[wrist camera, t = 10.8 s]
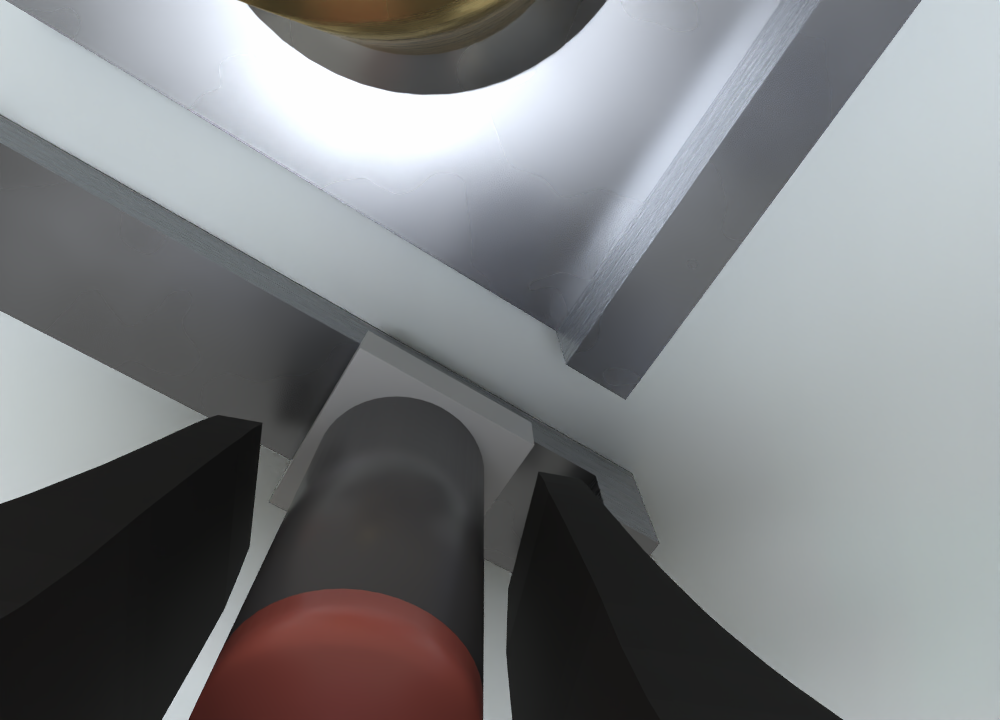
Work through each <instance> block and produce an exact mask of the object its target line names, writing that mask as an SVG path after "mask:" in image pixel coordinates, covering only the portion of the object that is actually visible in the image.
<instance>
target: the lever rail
mask: <svg viewBox="0 0 1000 720" xmlns="http://www.w3.org/2000/svg"><path fill="white" fill-rule="evenodd" d="M0 311H2V312H4V313H6V314H8V315H10V316H12V317H14V318H16V319H18V320H20V321H21V322H23V323H25V324H27V325H29V326H31V327H33V328H35V329H37V330H39V331H41V332H43V333H45V334H47V335H49V336H51V337H53V338H55V339H57V340H59V341H61V342H62V343H64V344H66V345H68V346H70V347H72V348H74V349H76V350H78V351H80V352H82V353H84V354H86V355H88V356H90V357H92V358H94V359H96V360H98V361H100V362H102V363H103V364H105V365H107V366H109V367H111V368H113V369H115V370H117V371H119V372H121V373H123V374H125V375H127V376H129V377H131V378H133V379H135V380H137V381H139V382H141V383H143V384H144V385H146V386H148V387H150V388H152V389H154V390H156V391H158V392H160V393H162V394H164V395H166V396H168V397H170V398H172V399H174V400H176V401H178V402H180V403H182V404H184V405H185V406H187V407H189V408H191V409H193V410H195V411H197V412H199V413H201V414H203V415H205V416H207V417H209V418H210V417H213V416H216V415H222V416H228V417H234V418H239V419H245V420H251V421H256V422H262V433H261V442H260V444H262V445H264V446H265V447H267V448H269V449H271V450H273V451H275V452H277V453H279V454H281V455H283V456H285V457H287V458H289V459H291V460H292V459H293V457H294V456H295V454H296V452H297V451H298V449H299V447H300V445H301V444H302V442H303V440H304V439H305V437H306V435H307V434H308V432H309V430H310V428H311V427H312V425H313V423H314V422H315V420H316V418H317V417H318V415H319V413H320V412H321V410H322V408H323V406H324V405H325V403H326V401H327V400H328V398H329V396H330V395H331V393H332V391H333V389H334V388H335V386H336V384H337V383H338V381H339V379H340V378H341V376H342V374H343V373H344V371H345V369H346V367H347V366H348V364H349V362H350V361H351V359H352V357H353V356H354V354H355V352H356V350H357V349H358V347H359V345H360V344H361V342H362V340H363V339H364V337H365V335H366V333H367V332H368V331H370V332H372V333H374V334H376V335H377V336H379V337H381V338H383V339H384V340H386V341H388V342H390V343H391V344H393V345H395V346H397V347H399V348H400V349H402V350H404V351H406V352H407V353H409V354H411V355H413V356H414V357H416V358H418V359H420V360H422V361H423V362H425V363H427V364H429V365H430V366H432V367H434V368H436V369H437V370H439V371H441V372H443V373H445V374H446V375H448V376H450V377H452V378H453V379H455V380H457V381H459V382H460V383H462V384H464V385H466V386H468V387H469V388H471V389H473V390H475V391H476V392H478V393H480V394H482V395H483V396H485V397H487V398H489V399H491V400H492V401H494V402H496V403H498V404H499V405H501V406H503V407H505V408H506V409H508V410H510V411H512V412H514V413H515V414H517V415H519V416H521V417H522V418H524V419H526V420H528V421H529V422H531V424H532V431H533V438H534V446H533V448H532V449H531V451H530V452H529V453H528V455H527V456H526V458H525V459H524V460H523V462H522V463H521V465H520V466H519V467H518V469H517V470H516V472H515V473H514V475H513V476H512V477H511V479H510V480H509V482H508V483H507V484H506V486H505V487H504V489H503V490H502V491H501V493H500V494H499V496H498V497H497V498H496V500H495V501H494V503H493V504H492V505H491V507H490V508H489V510H488V511H487V512H486V514H485V515H484V559H486V560H488V561H490V562H492V563H494V564H496V565H498V566H500V567H502V568H504V569H506V570H508V571H510V572H511V573H513V569H514V565H515V561H516V557H517V553H518V549H519V545H520V541H521V538H522V534H523V530H524V526H525V522H526V518H527V514H528V510H529V506H530V503H531V499H532V495H533V491H534V487H535V483H536V479H537V475H538V471H539V472H545V473H550V474H556V475H562V476H567V477H573V478H578V479H581V480H582V481H583V482H584V483H585V484H586V485H587V486H588V487H589V488H590V489H591V490H592V492H593V493H594V494H595V495H596V496H597V497H598V498H599V500H600V501H601V502H602V503H603V504H604V505H605V507H606V508H607V509H608V510H609V511H610V512H611V513H612V515H613V516H614V517H615V518H616V519H617V520H618V522H619V523H620V524H621V525H622V526H623V527H624V528H625V530H626V531H627V532H628V533H629V534H630V535H631V536H632V538H633V539H634V540H635V541H636V542H637V543H638V544H639V545H640V546H641V548H642V549H643V550H644V551H645V552H646V553H647V554H648V555H650V554H651V553H652V552H653V550H654V549H655V548H656V547H657V546H658V544H659V541H658V539H657V536H656V534H655V531H654V528H653V526H652V523H651V521H650V518H649V515H648V513H647V510H646V508H645V505H644V502H643V500H642V497H641V495H640V492H639V489H638V487H637V484H636V482H635V479H634V476H633V474H632V473H630V472H629V471H627V470H625V469H623V468H622V467H620V466H618V465H616V464H615V463H613V462H611V461H609V460H607V459H606V458H604V457H602V456H600V455H599V454H597V453H595V452H593V451H592V450H590V449H588V448H586V447H585V446H583V445H581V444H579V443H577V442H576V441H574V440H572V439H570V438H569V437H567V436H565V435H563V434H562V433H560V432H558V431H556V430H555V429H553V428H551V427H549V426H547V425H546V424H544V423H542V422H540V421H539V420H537V419H535V418H533V417H532V416H530V415H528V414H526V413H525V412H523V411H521V410H519V409H518V408H516V407H514V406H512V405H510V404H509V403H507V402H505V401H503V400H502V399H500V398H498V397H496V396H495V395H493V394H491V393H489V392H488V391H486V390H484V389H482V388H480V387H479V386H477V385H475V384H473V383H472V382H470V381H468V380H466V379H465V378H463V377H461V376H459V375H458V374H456V373H454V372H452V371H451V370H449V369H447V368H445V367H443V366H442V365H440V364H438V363H436V362H435V361H433V360H431V359H429V358H428V357H426V356H424V355H422V354H421V353H419V352H417V351H415V350H413V349H412V348H410V347H408V346H406V345H405V344H403V343H401V342H399V341H398V340H396V339H394V338H392V337H391V336H389V335H387V334H385V333H384V332H382V331H380V330H378V329H376V328H375V327H373V326H371V325H369V324H368V323H366V322H364V321H362V320H361V319H359V318H357V317H355V316H354V315H352V314H350V313H348V312H346V311H345V310H343V309H341V308H339V307H338V306H336V305H334V304H332V303H331V302H329V301H327V300H325V299H324V298H322V297H320V296H318V295H317V294H315V293H313V292H311V291H309V290H308V289H306V288H304V287H302V286H301V285H299V284H297V283H295V282H294V281H292V280H290V279H288V278H287V277H285V276H283V275H281V274H279V273H278V272H276V271H274V270H272V269H271V268H269V267H267V266H265V265H264V264H262V263H260V262H258V261H257V260H255V259H253V258H251V257H250V256H248V255H246V254H244V253H242V252H241V251H239V250H237V249H235V248H234V247H232V246H230V245H228V244H227V243H225V242H223V241H221V240H220V239H218V238H216V237H214V236H212V235H211V234H209V233H207V232H205V231H204V230H202V229H200V228H198V227H197V226H195V225H193V224H191V223H190V222H188V221H186V220H184V219H183V218H181V217H179V216H177V215H175V214H174V213H172V212H170V211H168V210H167V209H165V208H163V207H161V206H160V205H158V204H156V203H154V202H153V201H151V200H149V199H147V198H145V197H144V196H142V195H140V194H138V193H137V192H135V191H133V190H131V189H130V188H128V187H126V186H124V185H123V184H121V183H119V182H117V181H116V180H114V179H112V178H110V177H108V176H107V175H105V174H103V173H101V172H100V171H98V170H96V169H94V168H93V167H91V166H89V165H87V164H86V163H84V162H82V161H80V160H78V159H77V158H75V157H73V156H71V155H70V154H68V153H66V152H64V151H63V150H61V149H59V148H57V147H56V146H54V145H52V144H50V143H49V142H47V141H45V140H43V139H41V138H40V137H38V136H36V135H34V134H33V133H31V132H29V131H27V130H26V129H24V128H22V127H20V126H19V125H17V124H15V123H13V122H11V121H10V120H8V119H6V118H4V117H3V116H1V115H0Z"/></svg>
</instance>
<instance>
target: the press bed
mask: <svg viewBox="0 0 1000 720" xmlns="http://www.w3.org/2000/svg"><path fill="white" fill-rule="evenodd" d="M6 1H8V2H9V3H11V4H13V5H14V6H16V7H18V8H19V9H21V10H23V11H24V12H26V13H28V14H29V15H31V16H33V17H34V18H36V19H38V20H39V21H41V22H43V23H44V24H46V25H48V26H49V27H51V28H53V29H54V30H56V31H58V32H59V33H61V34H63V35H64V36H66V37H68V38H69V39H71V40H73V41H74V42H76V43H78V44H79V45H81V46H83V47H84V48H86V49H88V50H89V51H91V52H93V53H94V54H96V55H98V56H99V57H101V58H103V59H104V60H106V61H108V62H109V63H111V64H113V65H114V66H116V67H118V68H119V69H121V70H123V71H124V72H126V73H128V74H129V75H131V76H133V77H134V78H136V79H138V80H139V81H141V82H143V83H144V84H146V85H148V86H149V87H151V88H153V89H154V90H156V91H158V92H159V93H161V94H163V95H164V96H166V97H168V98H169V99H171V100H173V101H174V102H176V103H178V104H179V105H181V106H183V107H184V108H186V109H188V110H189V111H191V112H193V113H194V114H196V115H198V116H199V117H201V118H203V119H204V120H206V121H208V122H209V123H211V124H213V125H214V126H216V127H218V128H219V129H221V130H223V131H224V132H226V133H228V134H229V135H231V136H233V137H234V138H236V139H238V140H239V141H241V142H243V143H244V144H246V145H248V146H249V147H251V148H253V149H254V150H256V151H258V152H259V153H261V154H263V155H264V156H266V157H268V158H269V159H271V160H273V161H274V162H276V163H278V164H279V165H281V166H283V167H284V168H286V169H288V170H289V171H291V172H293V173H294V174H296V175H298V176H299V177H301V178H303V179H304V180H306V181H308V182H309V183H311V184H313V185H314V186H316V187H318V188H319V189H321V190H323V191H324V192H326V193H328V194H329V195H331V196H333V197H334V198H336V199H338V200H339V201H341V202H343V203H344V204H346V205H348V206H349V207H351V208H353V209H354V210H356V211H358V212H359V213H361V214H363V215H364V216H366V217H368V218H369V219H371V220H373V221H374V222H376V223H378V224H379V225H381V226H383V227H384V228H386V229H388V230H389V231H391V232H393V233H394V234H396V235H398V236H399V237H401V238H403V239H404V240H406V241H408V242H409V243H411V244H413V245H414V246H416V247H418V248H419V249H421V250H423V251H424V252H426V253H428V254H429V255H431V256H433V257H434V258H436V259H438V260H439V261H441V262H443V263H444V264H446V265H448V266H449V267H451V268H453V269H454V270H456V271H458V272H459V273H461V274H463V275H464V276H466V277H468V278H469V279H471V280H473V281H474V282H476V283H478V284H479V285H481V286H483V287H484V288H486V289H488V290H489V291H491V292H493V293H494V294H496V295H498V296H499V297H501V298H503V299H504V300H506V301H508V302H509V303H511V304H513V305H514V306H516V307H518V308H519V309H521V310H523V311H524V312H526V313H528V314H529V315H531V316H533V317H534V318H536V319H538V320H539V321H541V322H543V323H544V324H546V325H548V326H549V327H551V328H553V329H554V330H556V332H557V335H558V338H559V342H560V345H561V348H562V352H563V355H564V359H565V362H566V365H568V366H570V367H571V368H573V369H575V370H576V371H578V372H580V373H581V374H583V375H585V376H586V377H588V378H590V379H592V380H593V381H595V382H597V383H598V384H600V385H602V386H603V387H605V388H607V389H608V390H610V391H612V392H614V393H615V394H617V395H619V396H620V397H622V398H624V399H625V400H626V398H627V397H628V396H629V394H630V393H631V392H632V390H633V389H634V388H635V386H636V385H637V384H638V382H639V381H640V379H641V378H642V377H643V375H644V374H645V373H646V371H647V370H648V369H649V367H650V366H651V365H652V363H653V362H654V361H655V359H656V358H657V357H658V355H659V354H660V352H661V351H662V350H663V348H664V347H665V346H666V344H667V343H668V342H669V340H670V339H671V338H672V336H673V335H674V334H675V332H676V331H677V330H678V328H679V327H680V325H681V324H682V323H683V321H684V320H685V319H686V317H687V316H688V315H689V313H690V312H691V311H692V309H693V308H694V307H695V305H696V304H697V303H698V301H699V300H700V298H701V297H702V296H703V294H704V293H705V292H706V290H707V289H708V288H709V286H710V285H711V284H712V282H713V281H714V280H715V278H716V277H717V276H718V274H719V273H720V271H721V270H722V269H723V267H724V266H725V265H726V263H727V262H728V261H729V259H730V258H731V257H732V255H733V254H734V253H735V251H736V250H737V249H738V247H739V246H740V244H741V243H742V242H743V240H744V239H745V238H746V236H747V235H748V234H749V232H750V231H751V230H752V228H753V227H754V226H755V224H756V223H757V222H758V220H759V219H760V217H761V216H762V215H763V213H764V212H765V211H766V209H767V208H768V207H769V205H770V204H771V203H772V201H773V200H774V199H775V197H776V196H777V195H778V193H779V192H780V190H781V189H782V188H783V186H784V185H785V184H786V182H787V181H788V180H789V178H790V177H791V176H792V174H793V173H794V172H795V170H796V169H797V168H798V166H799V165H800V163H801V162H802V161H803V159H804V158H805V157H806V155H807V154H808V153H809V151H810V150H811V149H812V147H813V146H814V145H815V143H816V142H817V141H818V139H819V138H820V136H821V135H822V134H823V132H824V131H825V130H826V128H827V127H828V126H829V124H830V123H831V122H832V120H833V119H834V118H835V116H836V115H837V114H838V112H839V111H840V110H841V108H842V107H843V105H844V104H845V103H846V101H847V100H848V99H849V97H850V96H851V95H852V93H853V92H854V91H855V89H856V88H857V87H858V85H859V84H860V83H861V81H862V80H863V78H864V77H865V76H866V74H867V73H868V72H869V70H870V69H871V68H872V66H873V65H874V64H875V62H876V61H877V60H878V58H879V57H880V56H881V54H882V53H883V51H884V50H885V49H886V47H887V46H888V45H889V43H890V42H891V41H892V39H893V38H894V37H895V35H896V34H897V33H898V31H899V30H900V29H901V27H902V26H903V24H904V23H905V22H906V20H907V19H908V18H909V16H910V15H911V14H912V12H913V11H914V10H915V8H916V7H917V6H918V4H919V3H920V2H921V0H537V1H535V2H534V3H533V4H532V5H531V6H530V7H529V8H528V9H527V10H526V11H525V12H524V13H523V14H522V15H521V16H520V17H519V18H517V19H516V20H515V21H513V22H512V23H511V24H509V25H508V26H507V27H505V28H504V29H503V30H501V31H499V32H497V33H496V34H494V35H492V36H490V37H488V38H486V39H485V40H483V41H481V42H478V43H475V44H473V45H470V46H467V47H465V48H462V49H458V50H454V51H450V52H445V53H441V54H430V55H418V56H417V55H401V54H392V53H387V52H383V51H378V50H373V49H370V48H367V47H365V46H362V45H359V44H356V43H353V42H350V41H348V40H345V39H342V38H339V37H337V36H334V35H331V34H328V33H326V32H323V31H320V30H317V29H315V28H312V27H309V26H306V25H304V24H301V23H298V22H295V21H293V20H290V19H287V18H284V17H282V16H279V15H276V14H273V13H271V12H268V11H265V10H262V9H260V8H257V7H254V6H251V5H249V4H246V3H243V2H240V1H238V0H6Z"/></svg>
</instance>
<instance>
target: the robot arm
mask: <svg viewBox="0 0 1000 720" xmlns="http://www.w3.org/2000/svg"><path fill="white" fill-rule="evenodd" d="M261 433H262V422H256V421H251V420H245V419H239V418H234V417H228V416H222V415H216V416H213V417H210V418H207V419H205V420H202V421H200V422H198V423H195V424H193V425H191V426H188V427H186V428H184V429H182V430H179V431H177V432H175V433H173V434H171V435H169V436H166V437H164V438H162V439H160V440H158V441H155V442H153V443H151V444H149V445H146V446H144V447H142V448H140V449H137V450H135V451H133V452H131V453H128V454H126V455H124V456H122V457H119V458H117V459H115V460H113V461H110V462H108V463H106V464H104V465H101V466H99V467H96V468H93V469H91V470H88V471H86V472H83V473H81V474H78V475H76V476H73V477H71V478H68V479H66V480H63V481H60V482H58V483H55V484H53V485H50V486H48V487H45V488H43V489H40V490H38V491H35V492H33V493H30V494H27V495H25V496H22V497H19V498H16V499H13V500H10V501H8V502H5V503H2V504H0V720H162V718H163V717H164V715H165V713H166V711H167V710H168V708H169V706H170V704H171V703H172V701H173V699H174V697H175V696H176V694H177V692H178V690H179V689H180V687H181V685H182V683H183V682H184V680H185V678H186V676H187V675H188V673H189V671H190V669H191V668H192V666H193V664H194V662H195V661H196V659H197V657H198V655H199V653H200V652H201V650H202V648H203V646H204V645H205V643H206V641H207V639H208V637H209V636H210V634H211V632H212V630H213V629H214V627H215V625H216V623H217V621H218V620H219V618H220V616H221V614H222V612H223V610H224V608H225V606H226V604H227V601H228V599H229V596H230V594H231V592H232V589H233V587H234V585H235V582H236V580H237V577H238V575H239V572H240V570H241V567H242V565H243V562H244V560H245V557H246V554H247V552H248V549H249V547H250V537H251V528H252V518H253V509H254V499H255V490H256V480H257V471H258V461H259V452H260V442H261ZM506 655H507V667H508V678H509V689H510V700H511V710H512V720H843V719H841V718H840V717H838V716H837V715H836V714H834V713H833V712H831V711H830V710H829V709H827V708H826V707H824V706H823V705H821V704H820V703H819V702H817V701H816V700H814V699H813V698H812V697H810V696H809V695H807V694H806V693H804V692H803V691H802V690H800V689H799V688H797V687H796V686H795V685H793V684H792V683H791V682H789V681H788V680H787V679H785V678H784V677H783V676H781V675H780V674H779V673H777V672H776V671H775V670H773V669H772V668H771V667H770V666H768V665H767V664H766V663H765V662H763V661H762V660H761V659H760V658H759V657H757V656H756V655H755V654H754V653H752V652H751V651H750V650H749V649H748V648H746V647H745V646H744V645H743V644H742V643H740V642H739V641H738V640H737V639H736V638H734V637H733V636H732V635H731V634H730V633H728V632H727V631H726V630H725V629H724V628H722V627H721V626H720V625H719V624H718V623H717V622H716V621H715V620H714V619H712V618H711V617H710V616H709V615H708V614H707V613H706V612H705V611H704V610H703V609H701V608H700V607H699V606H698V605H697V604H696V603H695V602H694V601H693V600H692V599H691V598H690V597H689V596H688V595H687V594H686V593H685V592H684V591H683V590H682V589H681V588H680V587H679V586H678V585H677V584H676V583H675V582H674V581H673V580H672V579H671V578H670V577H669V576H668V575H667V574H666V573H665V572H664V571H663V570H662V569H661V568H660V567H659V566H658V565H657V564H656V563H655V562H654V561H653V559H652V558H651V557H650V556H649V555H648V554H647V553H646V552H645V551H644V550H643V549H642V548H641V546H640V545H639V544H638V543H637V542H636V541H635V540H634V539H633V538H632V536H631V535H630V534H629V533H628V532H627V531H626V530H625V528H624V527H623V526H622V525H621V524H620V523H619V522H618V520H617V519H616V518H615V517H614V516H613V515H612V513H611V512H610V511H609V510H608V509H607V508H606V507H605V505H604V504H603V503H602V502H601V501H600V500H599V498H598V497H597V496H596V495H595V494H594V493H593V492H592V490H591V489H590V488H589V487H588V486H587V485H586V484H585V483H584V482H583V481H582V480H581V479H578V478H573V477H567V476H562V475H556V474H550V473H545V472H539V471H538V475H537V479H536V483H535V487H534V491H533V495H532V499H531V503H530V506H529V510H528V514H527V518H526V522H525V526H524V530H523V534H522V538H521V541H520V545H519V549H518V553H517V557H516V561H515V565H514V569H513V573H512V576H511V580H510V584H509V588H508V610H507V645H506Z"/></svg>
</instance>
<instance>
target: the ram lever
mask: <svg viewBox="0 0 1000 720" xmlns="http://www.w3.org/2000/svg"><path fill="white" fill-rule="evenodd" d="M533 446H534V438H533V431H532V424H531V422H529V421H528V420H526V419H524V418H522V417H521V416H519V415H517V414H515V413H514V412H512V411H510V410H508V409H506V408H505V407H503V406H501V405H499V404H498V403H496V402H494V401H492V400H491V399H489V398H487V397H485V396H483V395H482V394H480V393H478V392H476V391H475V390H473V389H471V388H469V387H468V386H466V385H464V384H462V383H460V382H459V381H457V380H455V379H453V378H452V377H450V376H448V375H446V374H445V373H443V372H441V371H439V370H437V369H436V368H434V367H432V366H430V365H429V364H427V363H425V362H423V361H422V360H420V359H418V358H416V357H414V356H413V355H411V354H409V353H407V352H406V351H404V350H402V349H400V348H399V347H397V346H395V345H393V344H391V343H390V342H388V341H386V340H384V339H383V338H381V337H379V336H377V335H376V334H374V333H372V332H370V331H368V332H367V333H366V335H365V337H364V339H363V340H362V342H361V344H360V345H359V347H358V349H357V350H356V352H355V354H354V356H353V357H352V359H351V361H350V362H349V364H348V366H347V367H346V369H345V371H344V373H343V374H342V376H341V378H340V379H339V381H338V383H337V384H336V386H335V388H334V389H333V391H332V393H331V395H330V396H329V398H328V400H327V401H326V403H325V405H324V406H323V408H322V410H321V412H320V413H319V415H318V417H317V418H316V420H315V422H314V423H313V425H312V427H311V428H310V430H309V432H308V434H307V435H306V437H305V439H304V440H303V442H302V444H301V445H300V447H299V449H298V451H297V452H296V454H295V456H294V457H293V459H292V461H291V462H290V464H289V466H288V468H287V469H286V471H285V473H284V474H283V476H282V478H281V480H280V482H279V483H278V485H277V487H276V489H275V491H274V493H273V495H272V497H271V499H270V500H269V503H271V504H273V505H275V506H277V507H279V508H281V509H283V510H285V511H287V513H286V515H285V518H284V520H283V522H282V524H281V526H280V528H279V530H278V532H277V534H276V536H275V539H274V541H273V543H272V545H271V547H270V549H269V551H268V553H267V555H266V558H265V560H264V562H263V564H262V566H261V568H260V570H259V572H258V574H257V576H256V579H255V581H254V583H253V585H252V587H251V589H250V591H249V593H248V595H247V598H246V600H245V602H244V604H243V606H242V608H241V610H240V612H239V614H238V616H237V619H236V621H235V623H234V625H233V627H232V629H231V631H230V633H229V635H228V638H227V640H226V642H225V644H224V646H223V648H222V650H221V652H220V654H219V656H218V659H217V661H216V663H215V665H214V667H213V669H212V671H211V673H210V675H209V678H208V680H207V682H206V684H205V686H204V688H203V690H202V692H201V694H200V696H199V699H198V701H197V703H196V705H195V707H194V709H193V711H192V713H191V715H190V718H189V720H483V647H484V515H485V514H486V512H487V511H488V510H489V508H490V507H491V505H492V504H493V503H494V501H495V500H496V498H497V497H498V496H499V494H500V493H501V491H502V490H503V489H504V487H505V486H506V484H507V483H508V482H509V480H510V479H511V477H512V476H513V475H514V473H515V472H516V470H517V469H518V467H519V466H520V465H521V463H522V462H523V460H524V459H525V458H526V456H527V455H528V453H529V452H530V451H531V449H532V448H533Z"/></svg>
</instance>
